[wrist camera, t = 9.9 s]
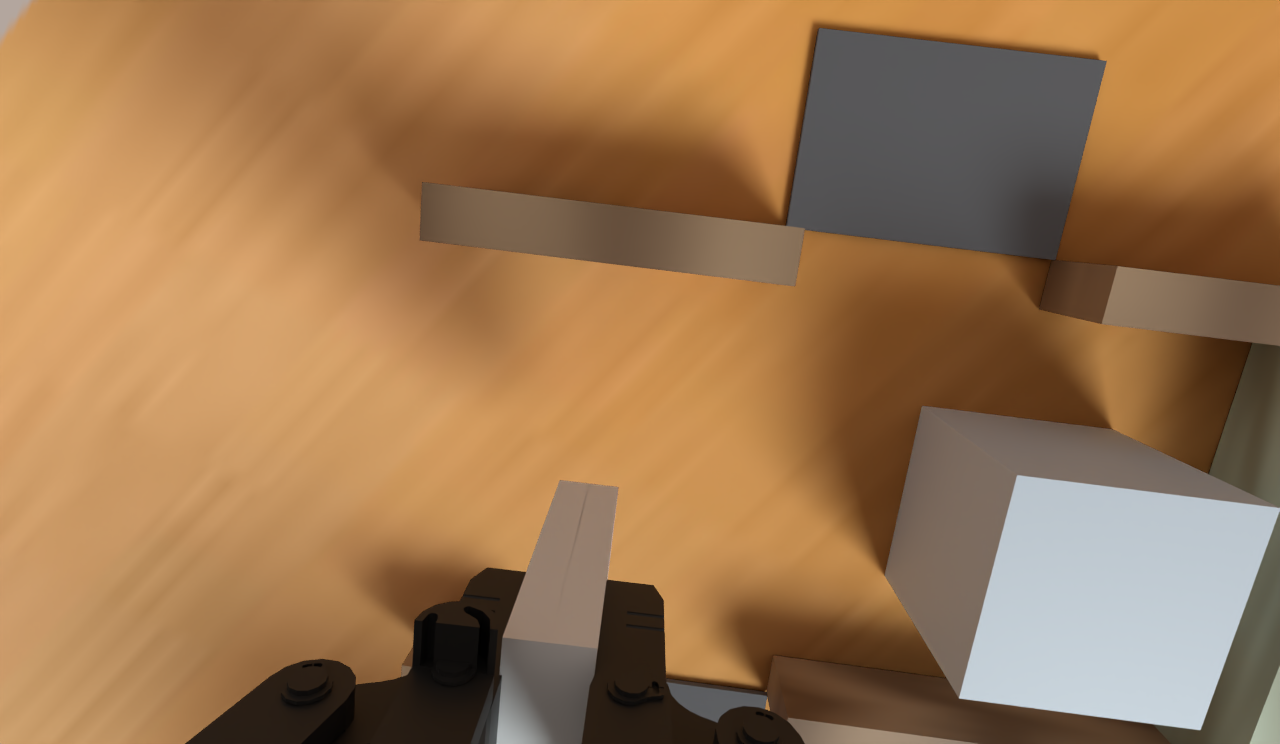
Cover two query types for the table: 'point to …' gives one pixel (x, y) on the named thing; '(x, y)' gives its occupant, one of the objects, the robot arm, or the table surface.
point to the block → (1072, 566)
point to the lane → (1113, 295)
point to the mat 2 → (941, 143)
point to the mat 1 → (713, 698)
